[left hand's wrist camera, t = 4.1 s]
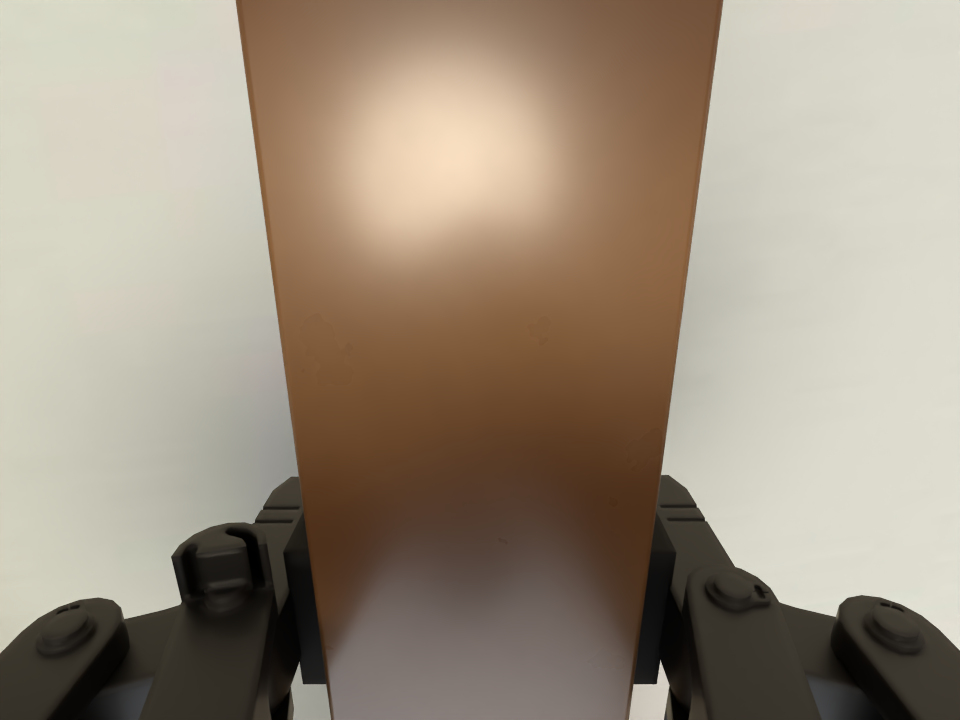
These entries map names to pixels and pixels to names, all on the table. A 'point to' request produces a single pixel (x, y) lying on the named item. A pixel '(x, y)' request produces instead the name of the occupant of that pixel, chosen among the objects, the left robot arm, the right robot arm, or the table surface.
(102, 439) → the table surface
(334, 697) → the bar
